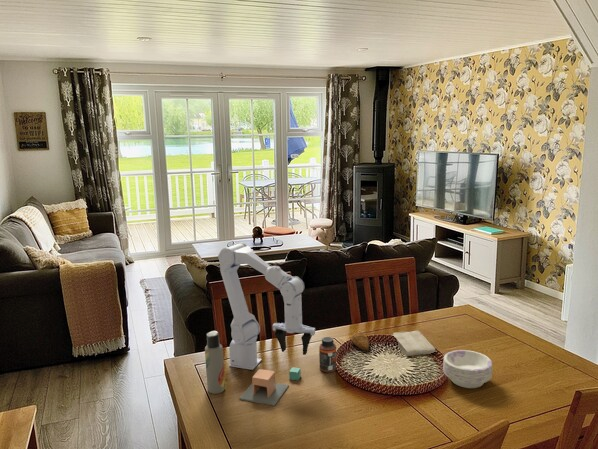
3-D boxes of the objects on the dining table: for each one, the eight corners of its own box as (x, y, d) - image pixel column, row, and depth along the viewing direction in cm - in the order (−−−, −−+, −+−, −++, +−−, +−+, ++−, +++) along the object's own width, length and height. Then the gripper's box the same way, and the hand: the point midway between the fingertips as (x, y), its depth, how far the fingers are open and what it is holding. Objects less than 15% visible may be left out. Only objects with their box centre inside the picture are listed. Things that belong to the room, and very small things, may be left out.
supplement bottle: (335, 374, 168) (335, 343, 165) (318, 372, 169) (317, 342, 166) (337, 365, 173) (337, 336, 171) (321, 364, 174) (320, 335, 172)
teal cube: (289, 379, 165) (289, 371, 164) (292, 375, 168) (292, 367, 167) (297, 380, 164) (297, 372, 163) (300, 376, 167) (300, 368, 166)
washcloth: (417, 335, 198) (418, 327, 197) (437, 355, 180) (437, 347, 180) (390, 337, 196) (390, 330, 195) (406, 358, 178) (407, 350, 178)
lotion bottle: (228, 386, 161) (224, 330, 157) (220, 395, 156) (216, 337, 152) (212, 383, 163) (209, 328, 159) (204, 392, 158) (200, 335, 154)
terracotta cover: (253, 394, 155) (252, 377, 154) (260, 385, 160) (259, 368, 159) (268, 397, 153) (268, 379, 152) (275, 388, 158) (275, 371, 157)
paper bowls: (456, 365, 171) (457, 344, 170) (499, 380, 161) (500, 358, 159) (434, 381, 161) (434, 359, 159) (478, 399, 150) (479, 375, 149)
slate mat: (239, 399, 153) (239, 398, 153) (255, 380, 164) (255, 379, 164) (274, 406, 149) (274, 404, 149) (288, 386, 160) (288, 385, 160)
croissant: (346, 338, 195) (345, 327, 194) (361, 336, 196) (361, 325, 195) (357, 353, 182) (357, 341, 181) (374, 351, 184) (374, 339, 183)
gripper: (268, 316, 160) (269, 354, 163) (310, 321, 155) (310, 360, 158) (276, 308, 167) (278, 345, 169) (316, 313, 162) (317, 350, 164)
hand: (294, 352), depth 164 cm, fingers open, 7 cm apart
